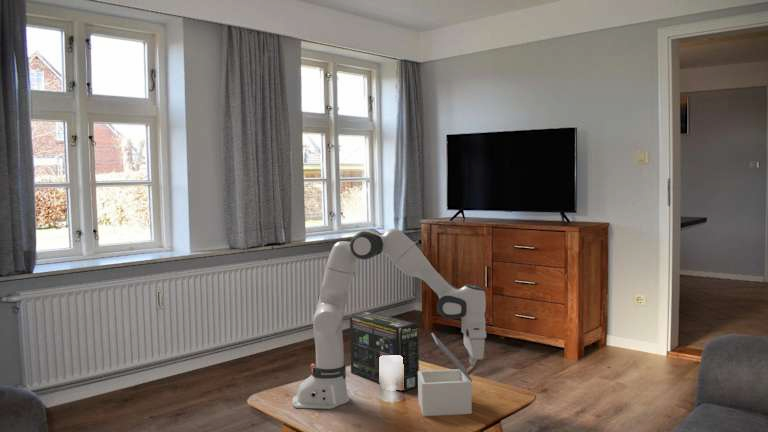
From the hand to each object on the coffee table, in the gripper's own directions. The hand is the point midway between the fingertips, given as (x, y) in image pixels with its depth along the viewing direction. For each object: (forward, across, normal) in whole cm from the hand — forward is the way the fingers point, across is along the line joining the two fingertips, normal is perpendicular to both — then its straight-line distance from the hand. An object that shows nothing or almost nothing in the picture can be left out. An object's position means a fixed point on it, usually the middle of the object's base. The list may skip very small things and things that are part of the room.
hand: (472, 364), depth 235 cm
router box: (+18, -35, -31) cm, 50 cm away
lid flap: (-3, 0, -8) cm, 9 cm away
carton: (+17, 0, -10) cm, 20 cm away
